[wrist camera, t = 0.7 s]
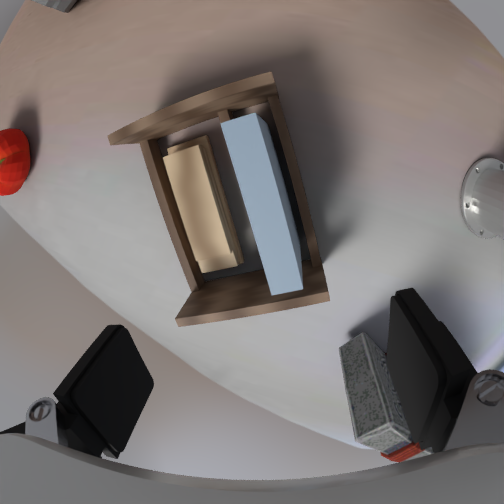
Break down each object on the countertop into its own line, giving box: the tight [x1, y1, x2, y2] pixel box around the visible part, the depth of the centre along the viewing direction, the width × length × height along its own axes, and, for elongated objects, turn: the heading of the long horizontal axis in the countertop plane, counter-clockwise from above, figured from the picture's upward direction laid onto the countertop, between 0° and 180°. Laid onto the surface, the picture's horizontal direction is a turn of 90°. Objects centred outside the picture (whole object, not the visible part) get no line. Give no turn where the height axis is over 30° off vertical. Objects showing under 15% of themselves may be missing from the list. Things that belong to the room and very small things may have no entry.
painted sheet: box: [220, 113, 303, 295], centre depth 31 cm, size 3×16×14 cm, turn 16°
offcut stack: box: [163, 135, 244, 273], centre depth 37 cm, size 6×18×5 cm, turn 15°
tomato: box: [0, 129, 30, 196], centre depth 36 cm, size 13×12×8 cm
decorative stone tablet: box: [339, 332, 434, 462], centre depth 38 cm, size 19×6×30 cm
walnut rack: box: [108, 72, 330, 327], centre depth 34 cm, size 19×24×10 cm
